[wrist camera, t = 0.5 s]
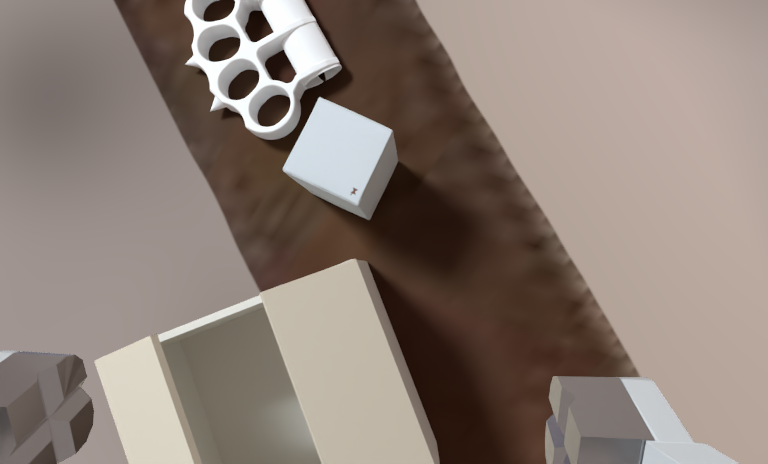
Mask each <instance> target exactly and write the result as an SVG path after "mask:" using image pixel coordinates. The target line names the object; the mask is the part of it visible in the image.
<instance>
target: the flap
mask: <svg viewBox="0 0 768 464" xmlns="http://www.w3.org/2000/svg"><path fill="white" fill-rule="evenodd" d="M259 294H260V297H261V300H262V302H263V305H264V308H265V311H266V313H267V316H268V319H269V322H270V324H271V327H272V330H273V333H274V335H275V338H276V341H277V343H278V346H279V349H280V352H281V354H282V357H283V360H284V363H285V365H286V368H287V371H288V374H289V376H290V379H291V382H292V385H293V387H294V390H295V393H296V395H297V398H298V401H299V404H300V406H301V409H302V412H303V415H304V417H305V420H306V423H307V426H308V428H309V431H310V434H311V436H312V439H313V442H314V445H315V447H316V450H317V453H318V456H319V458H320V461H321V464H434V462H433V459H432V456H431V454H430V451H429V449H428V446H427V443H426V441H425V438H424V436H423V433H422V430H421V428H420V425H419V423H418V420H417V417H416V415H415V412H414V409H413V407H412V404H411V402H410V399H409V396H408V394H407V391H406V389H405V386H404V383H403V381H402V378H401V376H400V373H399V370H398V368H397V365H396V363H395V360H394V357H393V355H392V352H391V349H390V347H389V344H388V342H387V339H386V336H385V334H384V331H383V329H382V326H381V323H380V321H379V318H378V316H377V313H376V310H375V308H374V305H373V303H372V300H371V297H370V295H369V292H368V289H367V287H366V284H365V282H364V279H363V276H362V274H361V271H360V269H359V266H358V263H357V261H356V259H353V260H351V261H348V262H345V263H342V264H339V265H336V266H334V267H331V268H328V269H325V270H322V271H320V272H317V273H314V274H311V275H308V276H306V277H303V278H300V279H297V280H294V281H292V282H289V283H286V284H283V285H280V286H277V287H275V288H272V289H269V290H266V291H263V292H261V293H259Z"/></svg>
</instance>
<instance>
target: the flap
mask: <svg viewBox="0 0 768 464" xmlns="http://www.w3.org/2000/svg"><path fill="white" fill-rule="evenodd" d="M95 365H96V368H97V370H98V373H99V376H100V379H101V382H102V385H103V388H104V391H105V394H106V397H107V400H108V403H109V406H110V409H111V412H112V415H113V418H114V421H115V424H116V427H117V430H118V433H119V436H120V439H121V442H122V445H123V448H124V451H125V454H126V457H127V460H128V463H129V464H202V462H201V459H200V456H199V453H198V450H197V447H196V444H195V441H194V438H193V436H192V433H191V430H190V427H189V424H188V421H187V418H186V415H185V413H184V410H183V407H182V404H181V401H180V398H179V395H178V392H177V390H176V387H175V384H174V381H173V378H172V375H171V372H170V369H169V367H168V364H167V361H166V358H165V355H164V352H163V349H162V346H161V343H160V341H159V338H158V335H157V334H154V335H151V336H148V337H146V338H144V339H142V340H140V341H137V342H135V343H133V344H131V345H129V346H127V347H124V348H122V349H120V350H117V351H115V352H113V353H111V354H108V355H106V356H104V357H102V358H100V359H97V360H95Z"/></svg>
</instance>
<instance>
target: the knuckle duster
mask: <svg viewBox="0 0 768 464" xmlns="http://www.w3.org/2000/svg"><path fill="white" fill-rule="evenodd" d="M215 1H219V0H186V3H185V10H184V12H185V15H186V17H187V18H188V19H189V20H190V21H191V23H192V25H193V29H194V40H193V43H192V50H193V54H194V56H193V57H192V58H191V59H190V60H189V61H188V62H187V63H186V64H185V65H190V66H195V67H199V68H201V69H202V70H203V71H204V72H205V73H206V74H207V76H208V79H209V83H210V91H211V92H212V93H213V94H214V95H215V98H214V101H213V104H212V107H211V110H210V111H214V110H218V109H221V108H225V107H227V108H228V109H229V110H231V111H234V112H237V113H239V114H241V116H242V117H243V119H244V122H245V126H246V128H247V129H248V130H250V131H251V132H252V133H253V134H254V135H256V136H258V137H260V138H262V139H267V140H276V139H280V138H283V137H285V136H287V135H288V134H289V133H291V132H292V131H293V130H294V128H295V127H296V126H297V124H298V122H299V119H300V115H301V105H300V99H301V97H302V95H303V93H304V91H305V90H306V89H308V88H312V87H315V86H317V85H319V84H321V83H323V82H324V81H323V80H321V79H320V78H319V77H318V75H320V74H321V73H323V72H324V73H325V77H326V80H328V79H330V78H332V77H333V76H334V75H336V74H337V73H338V72H339V71H340V70H341V69H342V66H341V65H340V62H339V60H338V59H337V57H336V56H335V54H334V52H333V50H332V49H331V47H330V45H329V43H328V42H327V40H326V38H325V36H324V35H323V33H322V31H321V29H320V27H319V26H318V24H317V22H316V20H315V18H314V16H313V15H312V13H311V11H310V10H309V8H308V6H307V4H306V3H305V1H304V0H234V1H235V7H234V9H233V11H232V13H231V14H230V15H229V16H228V17H226V18H225V19H222V20H218V21H214V22H206V21H204V19H203V16H204V12H205V9H206V8H207V7H208V6H209V5H210V4H211V3H213V2H215ZM254 10H259V11H261V10H262V12H263V14H264V15H265V17H266V19H267V21H268V23H269V24H270V26H271V28H272V30H273V32H274V33H272V34H270V35H268V36H267V37H265V38H263V39H261V40H260V41H258V42H251V40H250V38H249V37H248V35H247V33H246V31H245V26H246V24H247V22H248V18H249V14H250V12H252V11H254ZM227 37H237V38H239V39H240V41H241V44H240V48H239V50H238V52H237V53H236V55H235V56H233V57H232V58H230V59H228V60H224V61H219V62H211V61H209V57H208V54H209V50H210V47H211V46H212V45H213V43H215V42H216V41H217V40H220V39H223V38H227ZM282 50H284V51H285V53H286V55H287V57H288V59H289V60H290V62H291V64H292V66H293V68H294V69H295V71H296V73H297V75H296V76H295V78H294V80H293V81H292V82H291V83H284V82H281V81H277V80H272V78H271V77H270V75H269V73H268V71H267V69H266V67H265V62H266V60H267V59H268V58H269V57H271V56H273V55H275V54H277V53H278V52H280V51H282ZM244 70H256V71H258V72H259V82H258V85H257V86H256V88H255V89H254V90H253V91H252V92H251V93H250V94H249V95H248V96H247V97H245V98H244V99H241V100H231V99H230V98H229V95H228V88H229V85H230V83H231V81H232V80H233V79H234V78H235V77H236V76H237V75H238V74H239V73H240V72H242V71H244ZM274 95H285V96H287V97H289V98H290V102H291V105H290V110H289V112H288V113H287V115H286V116H285V117H284V118H283V119H282V120H281V121H280V122H279V123H278V124H276V125H274V126H270V127H264V126H261V125H259V123H258V118H257V116H258V111H259V109H260V107H261V106H262V105H263V104H264V103H265V102H266V101H267V100H268V99H269V98H270V97H272V96H274Z"/></svg>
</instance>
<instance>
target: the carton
mask: <svg viewBox="0 0 768 464" xmlns="http://www.w3.org/2000/svg"><path fill="white" fill-rule="evenodd" d="M351 260H353V259H351ZM351 260H349V261H351ZM356 261H357V263H358V266H359V269H360V271H361V274H362V276H363V279H364V282H365V284H366V287H367V289H368V292H369V295H370V297H371V300H372V303H373V305H374V308H375V310H376V313H377V316H378V318H379V321H380V323H381V326H382V329H383V331H384V334H385V336H386V339H387V342H388V344H389V347H390V349H391V352H392V355H393V357H394V360H395V363H396V365H397V368H398V370H399V373H400V376H401V378H402V381H403V383H404V386H405V389H406V391H407V394H408V396H409V399H410V402H411V404H412V407H413V409H414V412H415V415H416V417H417V420H418V423H419V425H420V428H421V430H422V433H423V436H424V438H425V441H426V443H427V446H428V449H429V451H430V454H431V456H432V459H433V462H434V464H440V462H439V455H438V448H437V442H436V439H435V437H434V434H433V432H432V429H431V426H430V424H429V421H428V419H427V416H426V414H425V411H424V408H423V406H422V403H421V401H420V398H419V395H418V393H417V390H416V388H415V385H414V382H413V380H412V377H411V375H410V372H409V369H408V367H407V364H406V362H405V359H404V356H403V354H402V351H401V349H400V346H399V343H398V341H397V338H396V336H395V333H394V330H393V328H392V325H391V323H390V320H389V317H388V315H387V312H386V310H385V307H384V304H383V302H382V299H381V297H380V294H379V291H378V289H377V286H376V284H375V281H374V278H373V276H372V273H371V271H370V268H369V265H368V263H367V261H361V260H356ZM346 262H348V261H346ZM344 263H345V262H344ZM341 264H342V263H341ZM338 265H339V264H338ZM333 267H334V266H333ZM158 338H159V341H160V343H161V346H162V349H163V352H164V355H165V358H166V361H167V364H168V367H169V369H170V372H171V375H172V378H173V381H174V384H175V387H176V390H177V392H178V395H179V398H180V401H181V404H182V407H183V410H184V413H185V415H186V418H187V421H188V424H189V427H190V430H191V433H192V436H193V438H194V441H195V444H196V447H197V450H198V453H199V456H200V459H201V462H202V464H321V461H320V458H319V456H318V453H317V450H316V447H315V445H314V442H313V439H312V436H311V434H310V431H309V428H308V426H307V423H306V420H305V417H304V415H303V412H302V409H301V406H300V404H299V401H298V398H297V395H296V393H295V390H294V387H293V385H292V382H291V379H290V376H289V374H288V371H287V368H286V365H285V363H284V360H283V357H282V354H281V352H280V349H279V346H278V343H277V341H276V338H275V335H274V333H273V330H272V327H271V324H270V322H269V319H268V316H267V313H266V311H265V308H264V305H263V302H262V300H261V297H260V295H259V296H257V297H254V298H251V299H249V300H246V301H244V302H242V303H239V304H236V305H234V306H231V307H228V308H226V309H223V310H221V311H218V312H216V313H213V314H211V315H208V316H205V317H203V318H200V319H198V320H195V321H193V322H190V323H188V324H185V325H182V326H180V327H178V328H175V329H173V330H170V331H167V332H165V333H162V334H159V335H158ZM103 357H104V356H103ZM101 358H102V357H101Z"/></svg>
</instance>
